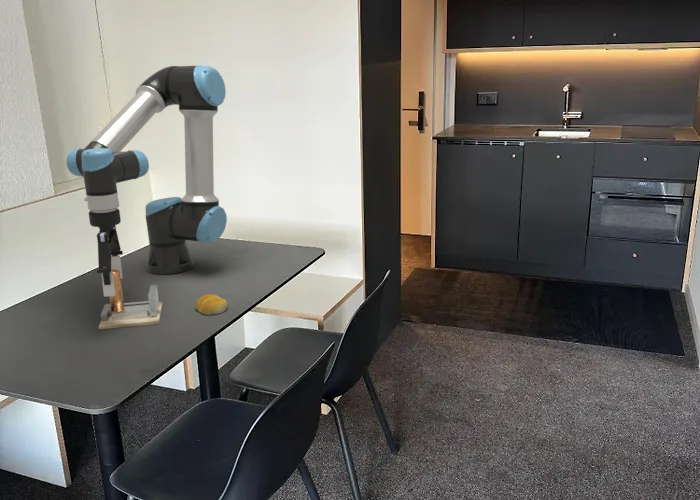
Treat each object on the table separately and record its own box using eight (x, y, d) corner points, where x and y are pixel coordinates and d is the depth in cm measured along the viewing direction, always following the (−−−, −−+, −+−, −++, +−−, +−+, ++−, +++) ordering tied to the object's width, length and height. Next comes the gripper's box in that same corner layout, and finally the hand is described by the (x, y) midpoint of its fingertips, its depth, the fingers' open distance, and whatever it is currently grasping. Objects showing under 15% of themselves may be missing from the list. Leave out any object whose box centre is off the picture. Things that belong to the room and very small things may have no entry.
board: (107, 309, 180) (107, 306, 180) (162, 304, 183) (162, 301, 183) (99, 329, 167) (98, 326, 167) (158, 323, 170) (158, 321, 170)
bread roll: (207, 318, 173) (206, 305, 172) (191, 309, 180) (190, 296, 179) (234, 310, 178) (233, 296, 177) (218, 301, 185) (216, 288, 184)
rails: (106, 310, 177) (105, 304, 177) (150, 306, 179) (149, 300, 179) (101, 321, 170) (100, 314, 170) (147, 317, 172) (146, 310, 172)
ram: (114, 308, 178) (108, 267, 174) (159, 304, 180) (154, 263, 176) (109, 320, 170) (103, 277, 167) (156, 315, 172) (151, 273, 169)
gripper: (97, 200, 176) (106, 273, 183) (78, 222, 153) (90, 304, 159) (125, 198, 178) (134, 271, 184) (111, 220, 154) (121, 302, 161)
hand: (113, 286), depth 172 cm, fingers open, 13 cm apart
